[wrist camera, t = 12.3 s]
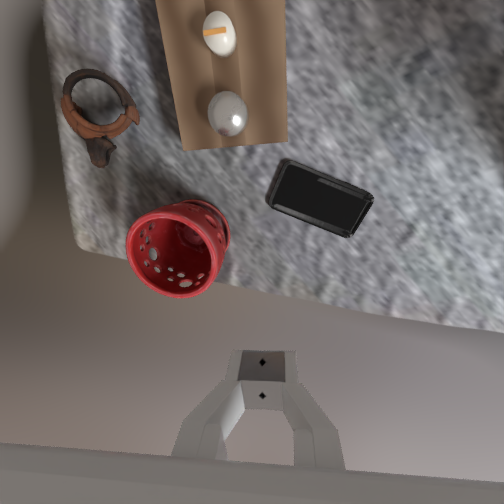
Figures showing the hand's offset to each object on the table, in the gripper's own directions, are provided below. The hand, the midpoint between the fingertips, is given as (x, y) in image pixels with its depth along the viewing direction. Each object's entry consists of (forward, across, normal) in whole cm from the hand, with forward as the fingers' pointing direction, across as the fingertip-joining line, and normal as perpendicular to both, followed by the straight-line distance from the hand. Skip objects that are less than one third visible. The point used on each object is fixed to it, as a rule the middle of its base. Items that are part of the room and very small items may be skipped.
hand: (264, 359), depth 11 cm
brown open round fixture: (+32, +24, -14) cm, 42 cm away
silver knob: (+31, +5, -13) cm, 33 cm away
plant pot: (+31, +14, +4) cm, 35 cm away
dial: (+26, +5, -20) cm, 33 cm away
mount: (+31, +5, -20) cm, 37 cm away
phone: (+32, -7, 0) cm, 32 cm away
